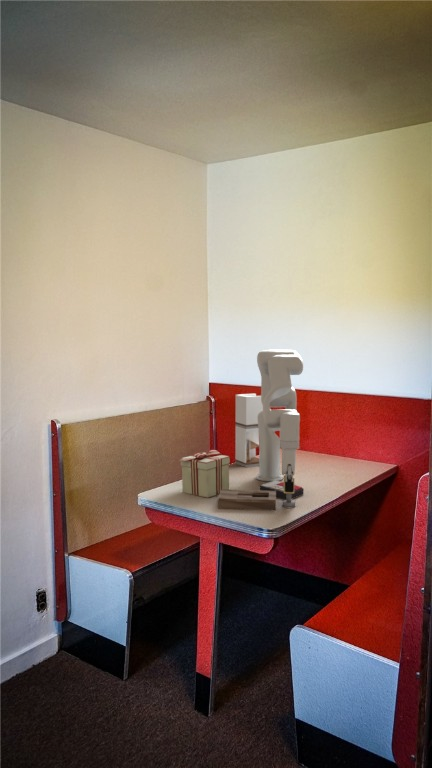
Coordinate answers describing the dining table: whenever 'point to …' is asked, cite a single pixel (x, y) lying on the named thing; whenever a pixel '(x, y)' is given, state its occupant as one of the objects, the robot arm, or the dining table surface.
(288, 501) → the peg
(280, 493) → the calculator
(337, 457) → the dining table surface
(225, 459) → the gift box
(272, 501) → the keyhole board
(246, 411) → the white slotted tower
